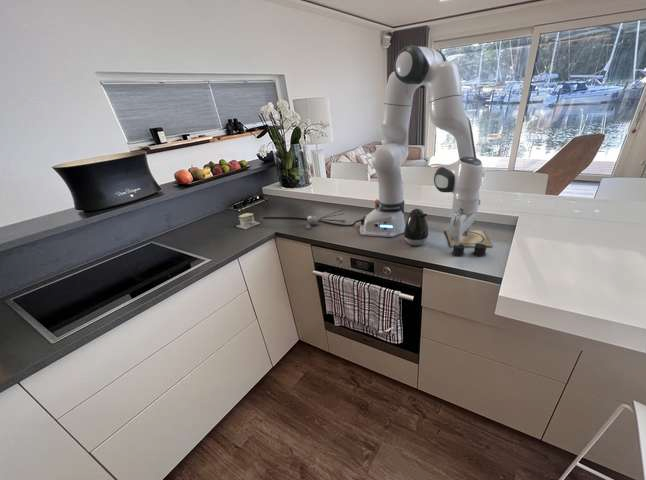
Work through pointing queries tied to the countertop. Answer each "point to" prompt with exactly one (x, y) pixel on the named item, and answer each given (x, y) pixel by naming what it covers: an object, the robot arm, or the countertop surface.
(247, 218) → the stacked layers on plate
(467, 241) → the sketch board
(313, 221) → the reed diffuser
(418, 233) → the pump dispenser
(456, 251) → the black ribbed knob
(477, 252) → the dot right
